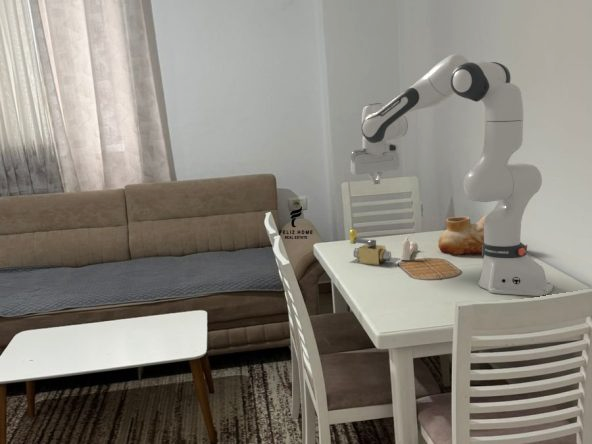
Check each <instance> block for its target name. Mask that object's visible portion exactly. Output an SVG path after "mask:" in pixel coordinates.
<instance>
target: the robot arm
mask: <svg viewBox="0 0 592 444" xmlns="http://www.w3.org/2000/svg"><path fill="white" fill-rule="evenodd" d="M511 79H512V78H511V72H510V70H509V68H507V66H506V65H504V64H502V63H500V62H497V61H496V62H495V61H491V62H489V61H482V60H481V61H473V62H470V61H469V60H468V59H467V58H466V57H465V56H463V55H461V54H460V53H459V54H458V53H453V54H451V55H448V56H447V57H445V58H443V59H442V60H440V61H439V62H438V63H437V64H435V65H434V66H432V68H431V69H429V71H427V72H426V73H425V74H424V75H423V76H421V77H420V78H419V79H418V80H417V81H416V82H415V83H414V84H412V85H411V86H409V87H408V88H407V89H405V90H404V91H403V92H401V94H399V95H398V96H395V98H394V99H392V100H390V101H389V103H387V104H386V105H385V104H384V103H381V102H379V103H378V102H377V103H371V104H367V105H365V106H364V107H363V109H362V114H361V132H362V133H361V134H362V142H361V143H362V148H360V149H354V150H353V151H352V152H351V154H350V173H351V174H352V175H354V176H359V175H368V178H369V180H370V184H371V185H373V186H374V185H379V184H381V179H382V176H383V172H388V171H389V172H390V171H396V170H397V171H398V170H399V168H400V156H399V155H400V154H399V152H398V150H399V147H398V145H397V144H394V143H390V142H387V141H390V140H396V139H400V138H402V137H404V136H405V135H406V134H407V131H408V128H409V125H408V124H409V123H408V119H407V117H406V114H409V113H410V112H413V111H418V110H421V109H427V108H432V107H436V106H439V104H441V103H444V102H445V101H447V100H448V99H449V98H450V97H452V96H453V95H454V94H455V95H458V96H459V97H461V98H464V99H467V100H471V101H473V102H480V101H481V102H482V103H483V104H484V108H485V109H484V110H485V111H484V113H485V115H484V118H485V119H484V121H485V122H484V140H483V141H484V142H483V147H482V151H481V154H480V156H479V159H478V160H477V162H476V163H475V165H474V166H473V167H472V168H471V169H470V170H469V171H468V172H467V173H466V174H465V176H464V178H463V184H462V185H463V186H462V187H463V191H464V194H465V195H466V196H467V198H468V199H469V200H471V201H473V202H481V203H489V202H490V203H491V202H497V203H496V205H495V207H494V208H493V210H491V211H490V212H489V214H488V213H487V214H488V215H487V214H486V215H487V216H486V218H485V220H484V242H483V245H482V255H481V256H482V259H483V260H482V268H481V273H480V277H479V281H478V286H480V288H483V289H484V290H487V291H488V292H489V293H492V294H501V295H514V296H519V295H520V296H533V297H543V295H544V296H546V295H548V294H550V293H551V292H552V291H553V290H554V284H553V282H552V281H551V280H547V279H546V278H547V277H546V273H545V269H544V267H543V266H542V265H541V264H539V263H538V262H537V261H535V260H534V259H533V258H532V257H530V256H529V255H527V254H528V253H527V252H528V251H527V250H528V244H524V243H522V242H521V235H522V234H521V230H522V221H523V216H524V212H525V210H526V207H527V205H528V204H529V202H530V201H531V199H532V198H533V197H534V196H535V195H536V194H537V193H538V192H539V190H540V189H541V187H542V183H543V179H542V178H543V177H542V174H541V171H540V170H539V168H538V167H537V166H535V165H533V164H528V163H520V162H518V163H510V164H509V161H510V159H511V157H512V155H513V154H514V153H516V152H517V151H518V150H520V148H521V147H522V145H523V142H524V141H523V139H524V138H523V136H524V135H523V134H524V106H523V105H524V104H523V98H522V92H521V88H520V87H519V86H518V85H516V84H513V83H511ZM375 174H376V175H377V176H376V178H375V177H374V176H375Z"/></svg>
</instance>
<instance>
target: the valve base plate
mask: <svg viewBox="0 0 592 444" xmlns="http://www.w3.org/2000/svg"><path fill="white" fill-rule="evenodd" d="M398 261H401V257H400V258H399V257H391V260H390V261H386V262H385V263H382V264H380V265H374V266H376V267H377V266H378V267H387V268H389V267H390V266H392V265H393V264H395V263H396V262H398ZM349 264H357V265H358V264H360V265H363V264H362V263H359V259H358V258H355V259H353V260H351V261H349ZM365 265H368V266H372V265H371V264H365Z"/></svg>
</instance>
